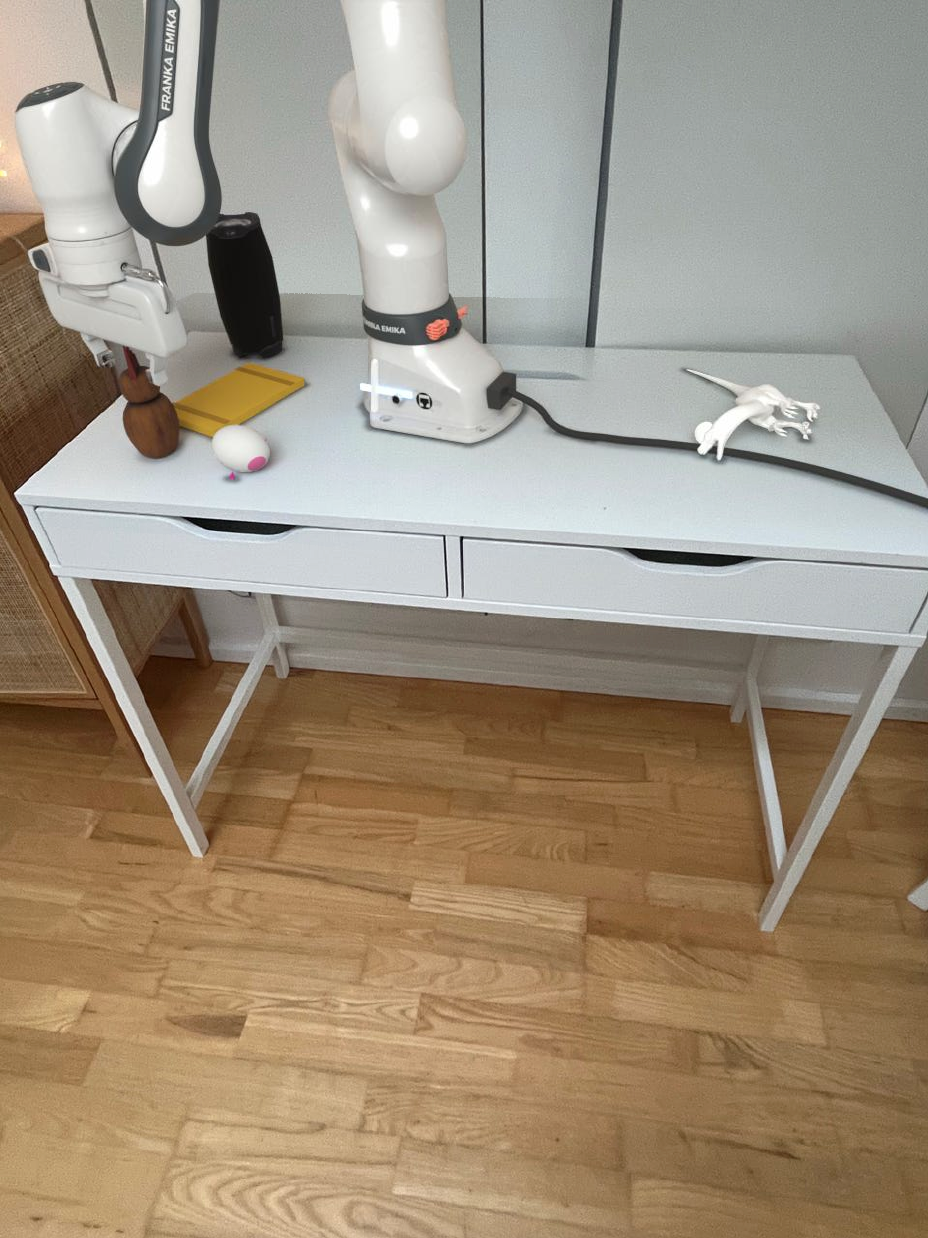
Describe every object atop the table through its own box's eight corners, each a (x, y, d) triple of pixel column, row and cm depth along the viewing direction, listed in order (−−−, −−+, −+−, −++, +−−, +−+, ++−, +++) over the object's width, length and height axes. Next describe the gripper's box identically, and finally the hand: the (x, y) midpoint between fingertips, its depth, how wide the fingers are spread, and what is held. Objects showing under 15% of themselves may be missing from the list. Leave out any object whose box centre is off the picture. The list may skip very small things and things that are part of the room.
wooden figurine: (169, 466, 106) (133, 352, 96) (127, 462, 107) (88, 350, 97) (192, 439, 111) (161, 329, 101) (152, 436, 112) (118, 327, 102)
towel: (305, 385, 122) (303, 376, 121) (215, 438, 111) (213, 429, 110) (250, 369, 126) (248, 361, 126) (159, 419, 115) (157, 410, 114)
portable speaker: (221, 348, 133) (190, 217, 120) (275, 333, 136) (250, 205, 123) (241, 366, 127) (211, 231, 114) (297, 351, 131) (274, 218, 118)
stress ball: (282, 489, 107) (293, 438, 105) (243, 484, 99) (255, 429, 98) (235, 474, 109) (246, 424, 108) (194, 469, 102) (205, 415, 101)
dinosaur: (781, 435, 122) (673, 411, 123) (802, 376, 118) (691, 352, 119) (815, 484, 100) (683, 454, 101) (843, 413, 96) (705, 383, 97)
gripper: (184, 263, 90) (211, 383, 99) (64, 235, 99) (100, 348, 108) (137, 281, 86) (171, 404, 95) (17, 250, 95) (58, 366, 104)
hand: (132, 374), depth 101 cm, fingers open, 8 cm apart
